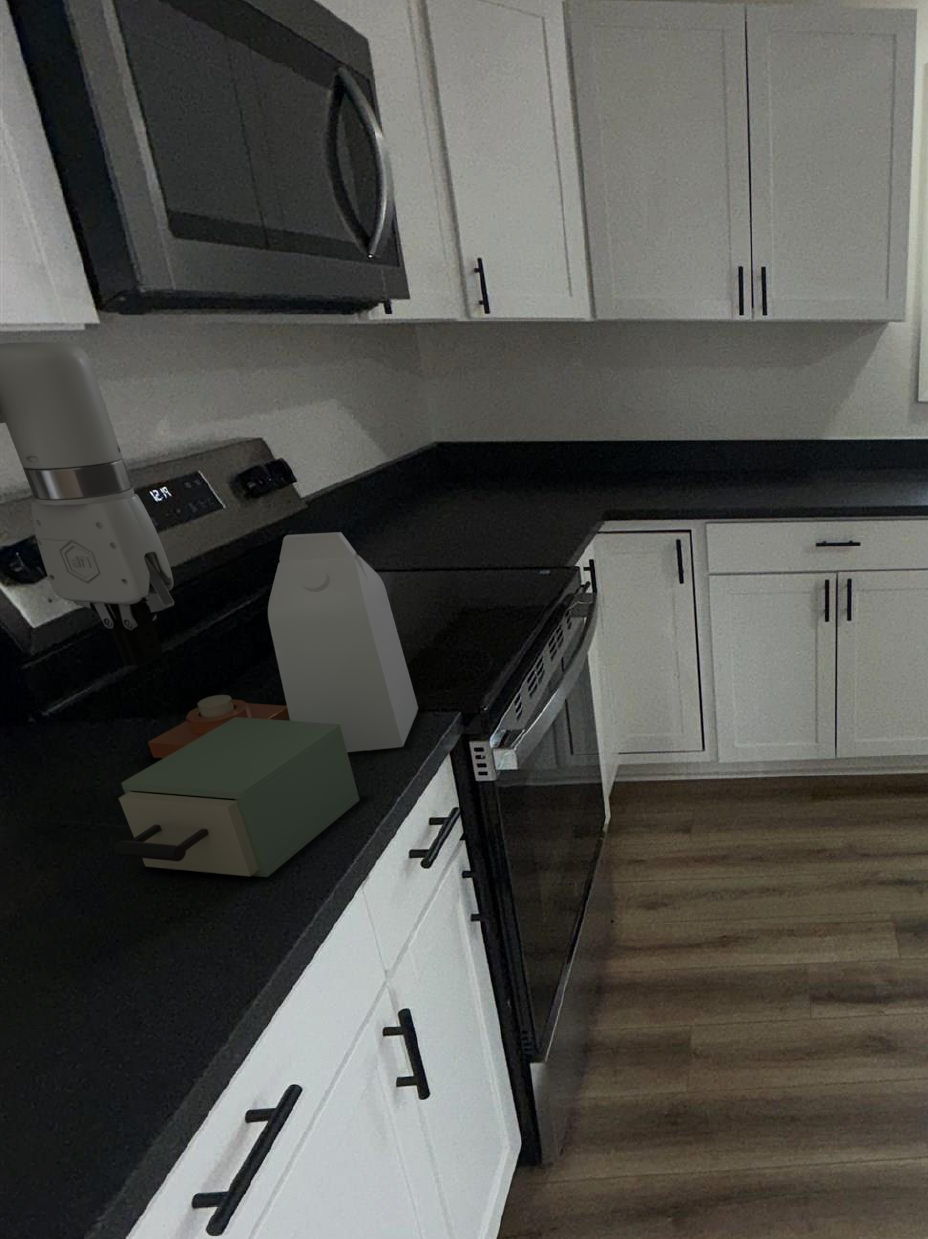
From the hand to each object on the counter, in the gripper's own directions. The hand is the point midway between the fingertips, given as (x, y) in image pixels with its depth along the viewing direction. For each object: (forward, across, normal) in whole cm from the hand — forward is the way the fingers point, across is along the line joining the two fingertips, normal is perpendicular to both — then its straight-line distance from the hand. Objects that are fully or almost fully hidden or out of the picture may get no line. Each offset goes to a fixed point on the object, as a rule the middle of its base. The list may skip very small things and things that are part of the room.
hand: (144, 660), depth 91 cm
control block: (+17, -9, +14) cm, 24 cm away
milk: (+17, +7, +19) cm, 27 cm away
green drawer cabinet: (+17, +12, -4) cm, 21 cm away
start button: (+14, -9, +14) cm, 22 cm away
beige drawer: (+16, +12, -8) cm, 22 cm away
